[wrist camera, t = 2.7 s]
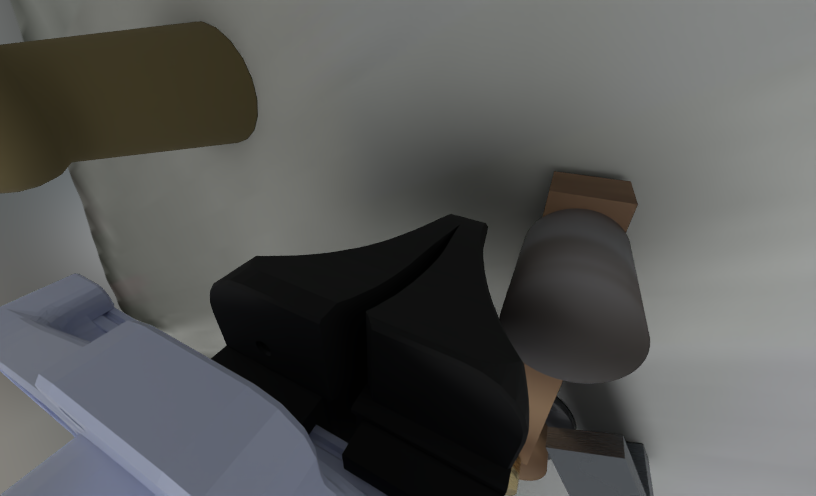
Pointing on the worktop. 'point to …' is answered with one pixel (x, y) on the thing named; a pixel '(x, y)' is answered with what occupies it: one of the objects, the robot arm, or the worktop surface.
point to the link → (574, 299)
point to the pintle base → (555, 418)
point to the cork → (118, 98)
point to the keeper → (599, 463)
